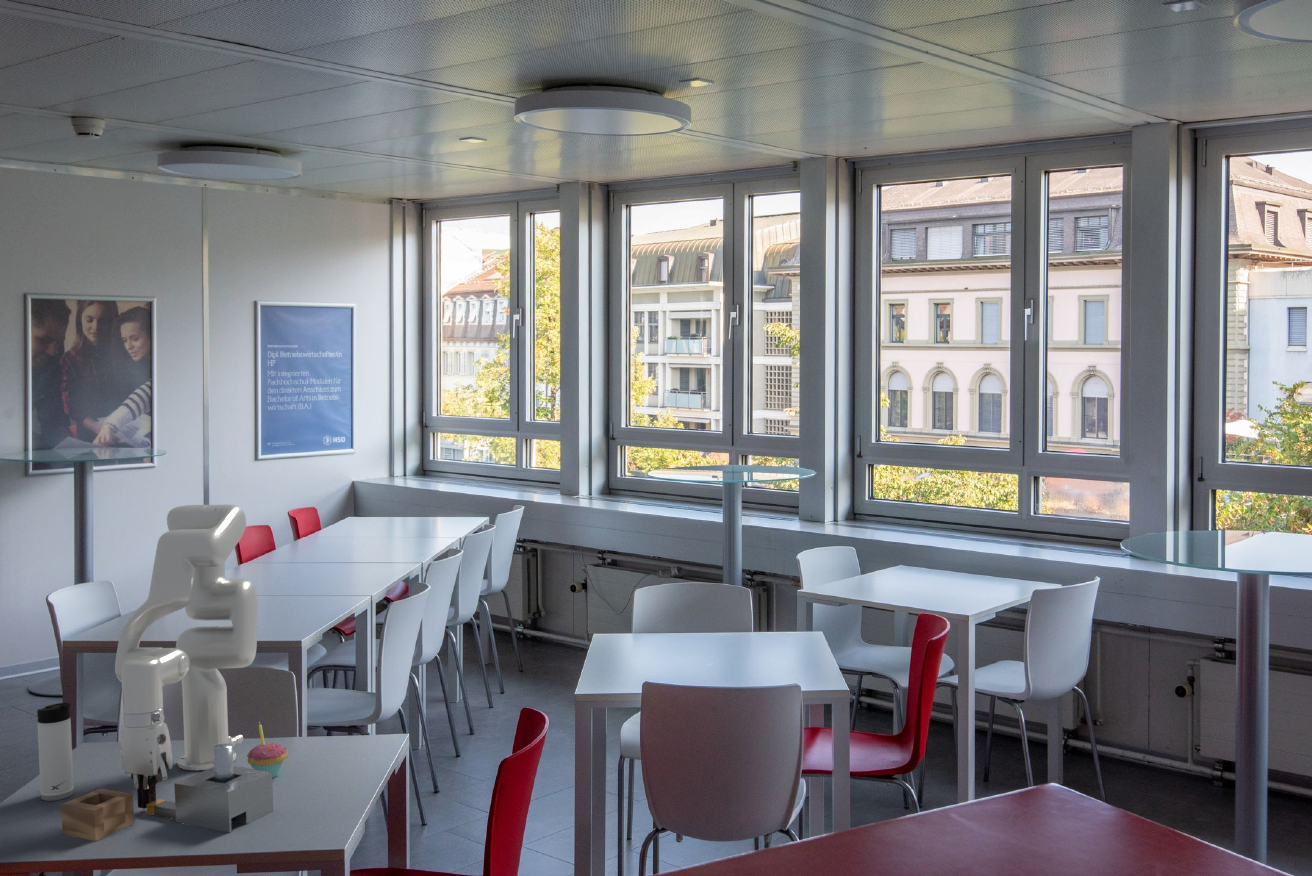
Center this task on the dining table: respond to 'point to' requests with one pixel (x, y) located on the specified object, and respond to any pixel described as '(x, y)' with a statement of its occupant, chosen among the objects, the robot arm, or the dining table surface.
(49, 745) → the travel mug
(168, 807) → the bar
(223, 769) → the peg
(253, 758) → the cupcake
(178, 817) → the socket block
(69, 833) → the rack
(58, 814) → the dining table surface
